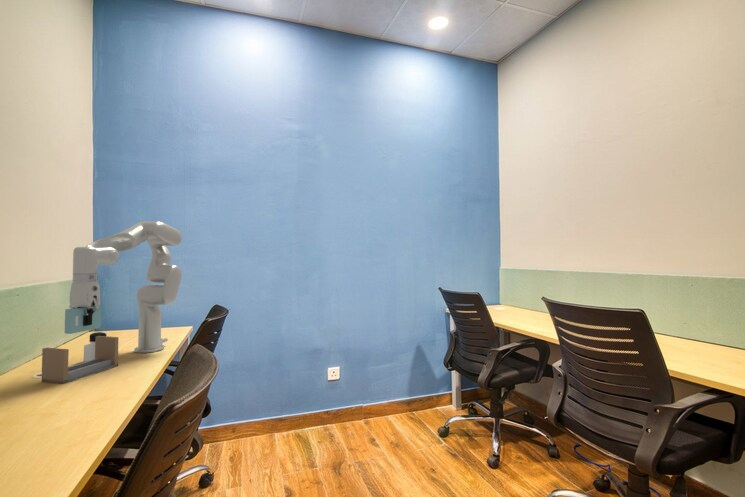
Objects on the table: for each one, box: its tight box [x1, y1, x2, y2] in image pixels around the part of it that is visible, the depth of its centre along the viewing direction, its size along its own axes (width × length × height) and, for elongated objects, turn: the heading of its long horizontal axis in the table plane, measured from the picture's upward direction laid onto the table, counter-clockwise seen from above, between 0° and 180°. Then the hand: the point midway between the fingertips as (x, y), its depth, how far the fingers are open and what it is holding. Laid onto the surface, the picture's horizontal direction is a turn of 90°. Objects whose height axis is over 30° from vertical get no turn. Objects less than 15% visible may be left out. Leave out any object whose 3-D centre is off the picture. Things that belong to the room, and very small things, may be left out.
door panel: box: [64, 305, 102, 335], centre depth 143 cm, size 12×3×9 cm, turn 168°
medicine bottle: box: [83, 331, 107, 363], centre depth 161 cm, size 7×7×12 cm
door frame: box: [41, 336, 119, 385], centre depth 143 cm, size 22×10×12 cm, turn 168°
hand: (83, 324), depth 143 cm, fingers closed on door panel, 3 cm apart
